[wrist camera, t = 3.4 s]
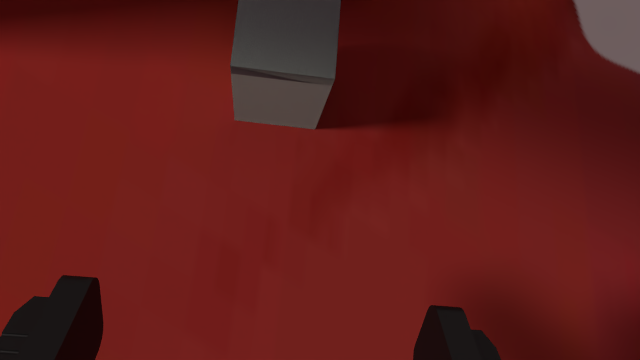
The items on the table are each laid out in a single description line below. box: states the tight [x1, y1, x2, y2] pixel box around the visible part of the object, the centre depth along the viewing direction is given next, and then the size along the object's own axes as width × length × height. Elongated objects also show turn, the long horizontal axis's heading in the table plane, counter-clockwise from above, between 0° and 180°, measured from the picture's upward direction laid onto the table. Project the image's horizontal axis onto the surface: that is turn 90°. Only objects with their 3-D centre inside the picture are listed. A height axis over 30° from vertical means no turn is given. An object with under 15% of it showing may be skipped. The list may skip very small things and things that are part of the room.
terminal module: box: [230, 0, 341, 129], centre depth 26 cm, size 4×4×7 cm
